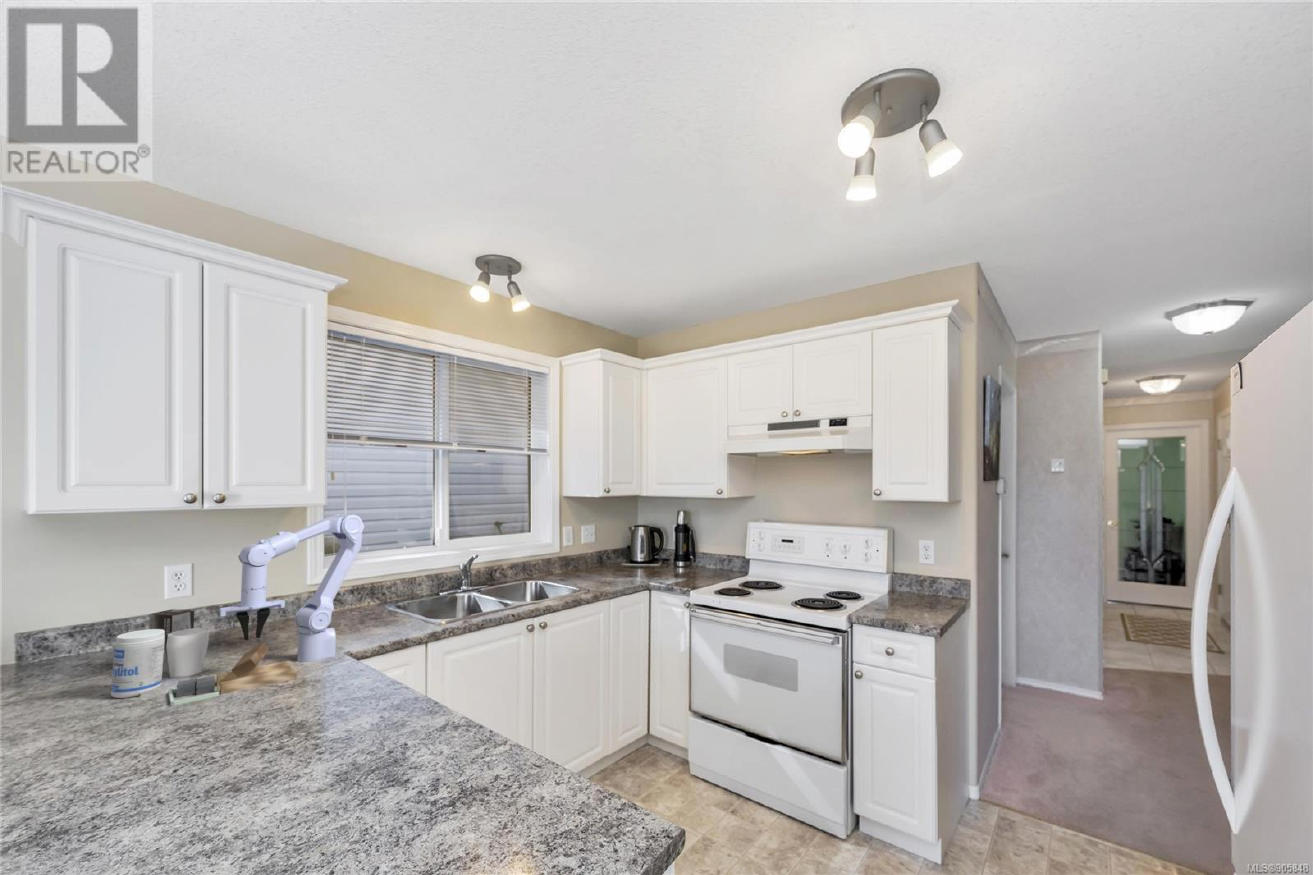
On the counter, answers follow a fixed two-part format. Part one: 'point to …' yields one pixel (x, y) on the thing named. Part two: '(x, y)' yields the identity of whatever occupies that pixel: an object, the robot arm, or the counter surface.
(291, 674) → the slot board
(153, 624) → the coffee box
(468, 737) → the counter surface
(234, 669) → the brown wooden block
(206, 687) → the grey cube
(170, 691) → the tray
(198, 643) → the cup
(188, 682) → the dark grey cube
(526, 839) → the counter surface
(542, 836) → the counter surface
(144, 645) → the supplement tub
